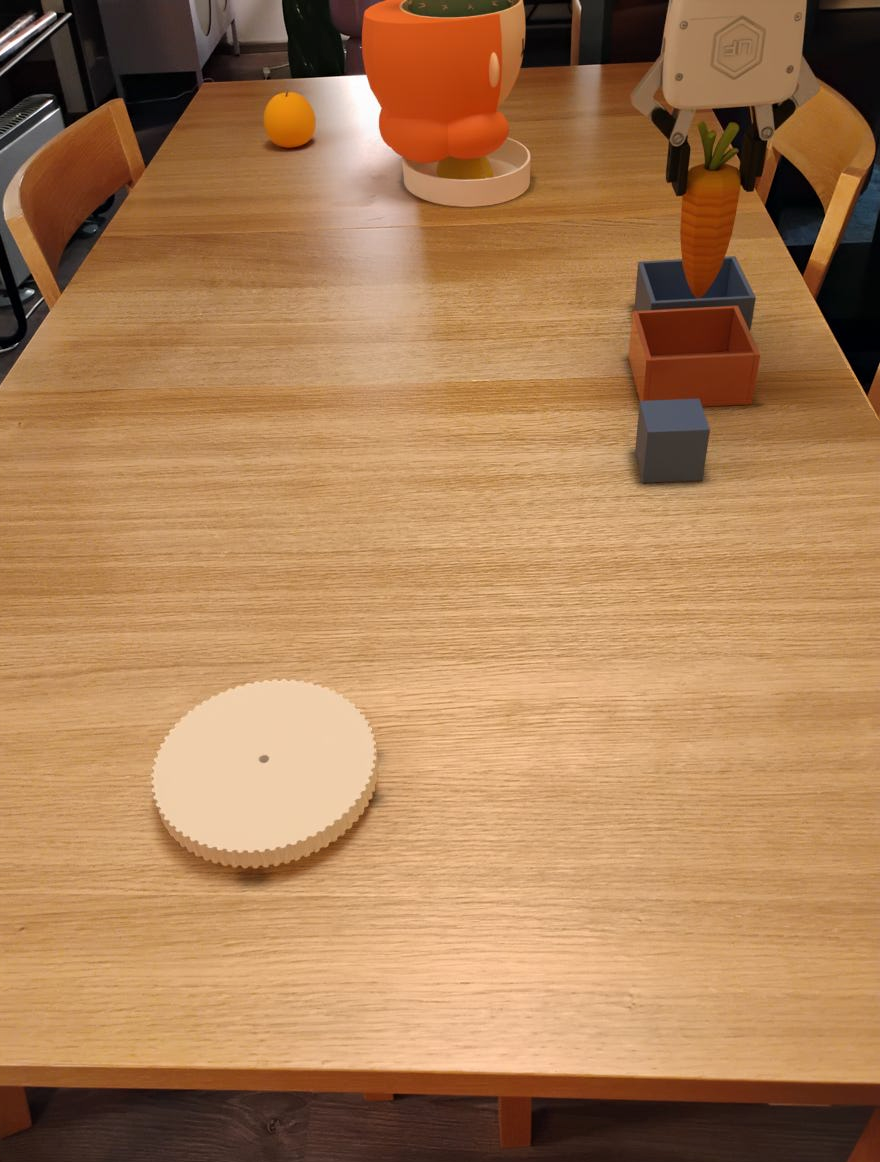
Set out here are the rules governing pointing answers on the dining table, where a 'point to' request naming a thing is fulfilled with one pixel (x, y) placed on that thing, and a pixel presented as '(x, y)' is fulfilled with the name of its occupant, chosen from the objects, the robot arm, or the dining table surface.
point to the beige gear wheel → (265, 773)
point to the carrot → (709, 210)
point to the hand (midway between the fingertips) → (712, 186)
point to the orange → (289, 120)
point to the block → (671, 440)
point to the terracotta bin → (693, 355)
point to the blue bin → (670, 289)
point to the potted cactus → (449, 95)
